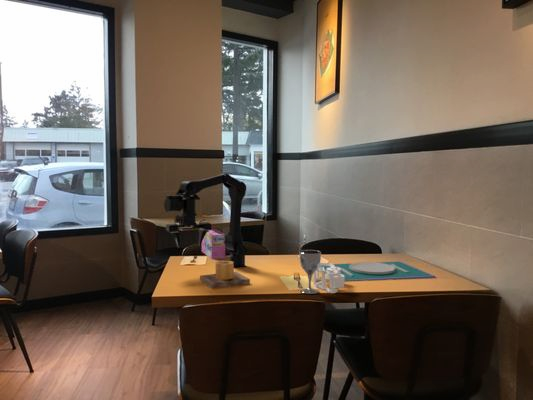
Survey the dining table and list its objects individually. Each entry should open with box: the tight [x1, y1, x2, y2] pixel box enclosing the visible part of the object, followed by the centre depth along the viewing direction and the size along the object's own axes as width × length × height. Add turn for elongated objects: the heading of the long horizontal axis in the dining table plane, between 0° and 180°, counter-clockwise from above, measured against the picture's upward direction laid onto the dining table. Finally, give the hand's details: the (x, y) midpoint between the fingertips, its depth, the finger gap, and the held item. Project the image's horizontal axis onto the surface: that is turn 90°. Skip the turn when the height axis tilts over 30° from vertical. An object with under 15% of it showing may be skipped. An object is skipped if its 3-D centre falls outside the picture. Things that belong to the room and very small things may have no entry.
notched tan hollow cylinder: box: [215, 260, 235, 281], centre depth 181 cm, size 7×7×6 cm
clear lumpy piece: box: [313, 261, 345, 294], centre depth 176 cm, size 20×11×7 cm, turn 178°
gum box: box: [201, 228, 226, 260], centre depth 235 cm, size 22×7×13 cm, turn 23°
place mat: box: [319, 260, 436, 282], centre depth 204 cm, size 45×30×2 cm
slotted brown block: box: [199, 260, 251, 290], centre depth 181 cm, size 16×14×8 cm
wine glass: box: [299, 249, 322, 295], centre depth 168 cm, size 8×8×15 cm
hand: (189, 246), depth 193 cm, fingers open, 9 cm apart
